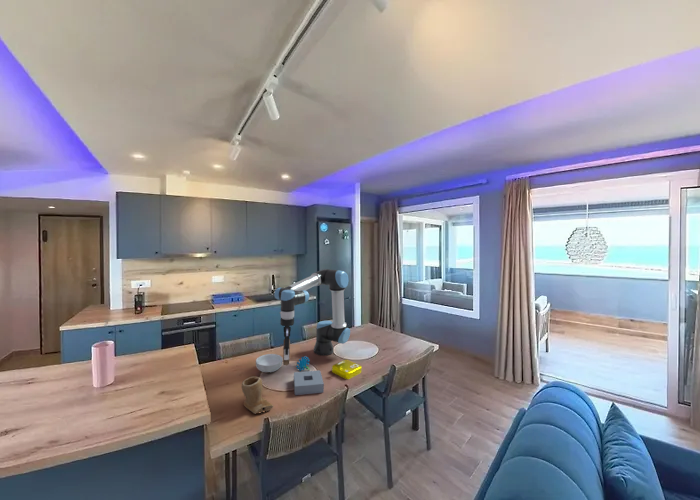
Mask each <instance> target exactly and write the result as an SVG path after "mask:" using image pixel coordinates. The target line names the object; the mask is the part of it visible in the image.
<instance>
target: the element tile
mask: <svg viewBox="0 0 700 500" xmlns="http://www.w3.org/2000/svg"><path fill="white" fill-rule="evenodd" d="M362 369H363V367H362V365H360V364H359V363H356V362H353V361H351V360H350V359H343V360H340V361H339V362H337V363H335V364H333V365H332V366H331V373H333V374H335V376H338V377H341V378H343V379H344V380H350V379H353V378H355V377H356V376H358V375H360V374H362Z"/></svg>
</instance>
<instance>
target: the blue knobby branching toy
mask: <svg viewBox="0 0 700 500" xmlns="http://www.w3.org/2000/svg"><path fill="white" fill-rule="evenodd" d="M296 364H297V365H296V366H295V367H296V369H299V370H298V371H299V372H302V371H304V370H306V371H307V370H308V371H309V370H310V371H311V369H310V367H308V366H309V365H310V358H309V357H308V356H306V355H305V356H301V358H299V359H298V361H297V362H296Z"/></svg>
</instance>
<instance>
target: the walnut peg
mask: <svg viewBox="0 0 700 500" xmlns="http://www.w3.org/2000/svg"><path fill="white" fill-rule="evenodd" d="M284 347H285V338H284V339H283V348H284ZM283 348H282V351H283V353H282V354H283V355H282V358H283V362H282V365H283V366H289V365H290V356H291V354H290V353H291V352H290V351H291V350H290V349H291V339H290V338H289V360H284V349H283Z"/></svg>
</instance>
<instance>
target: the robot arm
mask: <svg viewBox="0 0 700 500" xmlns="http://www.w3.org/2000/svg"><path fill="white" fill-rule="evenodd" d="M323 285H324V286H328V290H329V291H330V292H331V306H332V307H331V310H332V320H322V321H321V320H320V321H319V322H317V323H316V333H315V334H316V339H315V344H314V347H313V353H314V354H315V355H318V356H330V355H332V354H333V353H334V346H333V345H334V344H333V342H335V343H338V344H346V343H347V342H348V341H349V339H350V335H351V329H350V328H349V327H348V325H347V322H345V321H346V320H345V319H346V318H345V300H344V298H345V297H344V296H345V295H344V293H345V292H344V291H345V290H346V288H347V287H348V286H349V275H348V273H347V272H346V271H343V270H340V269H338V270H337V269H331V268H330V269H328V268H325V269H321V270H318V271H316V272H313V273H311V275H310V276H307V277H305V278H303V279H301V280H299V281H296V282H294V283H292V284H290V285H288V286H286V287H277V288H276V289H275V290H274V292H273V293H274V295H273V296H274V298H275V299H276V300H279V301H280V312H279V314H280V321H279V322H280V323H279V324H280V326H282V327H283V337H284V339H285V347H284V346H283V347H284V348H282V350H283V349H284V360H289V361H290V358H289V339H290V337H291V331H292V330H291V329H292V328H291V327H292V326H294V324H295V307H296V306H298V305H302V304H305V303H307V302H308V301H309V300H310V294H309V291H308V290H309V289H311V288H313V287H318V286H323Z"/></svg>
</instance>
